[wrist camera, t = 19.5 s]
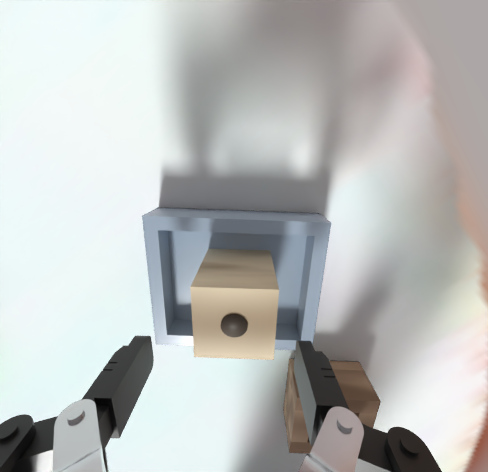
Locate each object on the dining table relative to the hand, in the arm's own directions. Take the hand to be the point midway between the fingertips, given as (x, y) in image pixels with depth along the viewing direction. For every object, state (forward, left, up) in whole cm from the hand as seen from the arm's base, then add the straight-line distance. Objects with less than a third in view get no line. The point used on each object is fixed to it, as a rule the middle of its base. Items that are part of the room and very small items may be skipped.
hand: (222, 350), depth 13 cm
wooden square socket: (-12, -9, -8) cm, 18 cm away
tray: (+1, 0, -8) cm, 8 cm away
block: (+1, -1, -7) cm, 7 cm away
